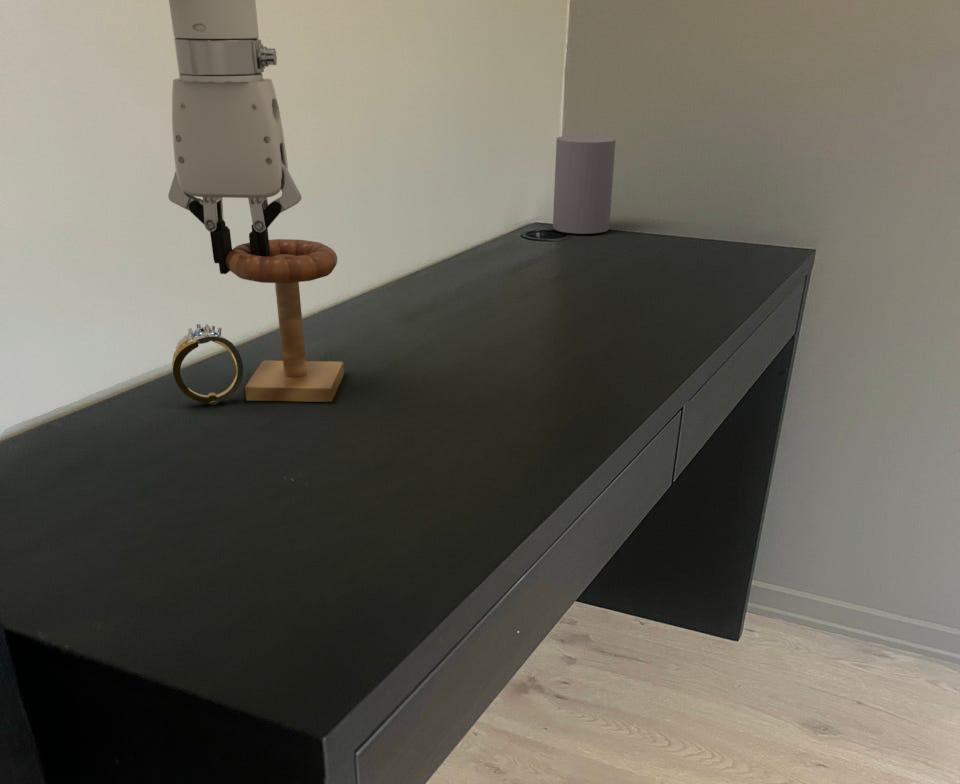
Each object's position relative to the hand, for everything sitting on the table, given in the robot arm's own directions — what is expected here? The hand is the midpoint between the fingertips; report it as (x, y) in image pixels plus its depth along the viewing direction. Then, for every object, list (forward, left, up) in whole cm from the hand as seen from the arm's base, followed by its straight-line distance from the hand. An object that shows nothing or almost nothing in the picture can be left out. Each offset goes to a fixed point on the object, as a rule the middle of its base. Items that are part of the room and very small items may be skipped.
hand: (243, 269), depth 100 cm
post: (+4, 0, -12) cm, 13 cm away
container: (+40, +89, -12) cm, 99 cm away
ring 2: (+4, 0, +1) cm, 4 cm away
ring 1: (-3, -6, -12) cm, 14 cm away
